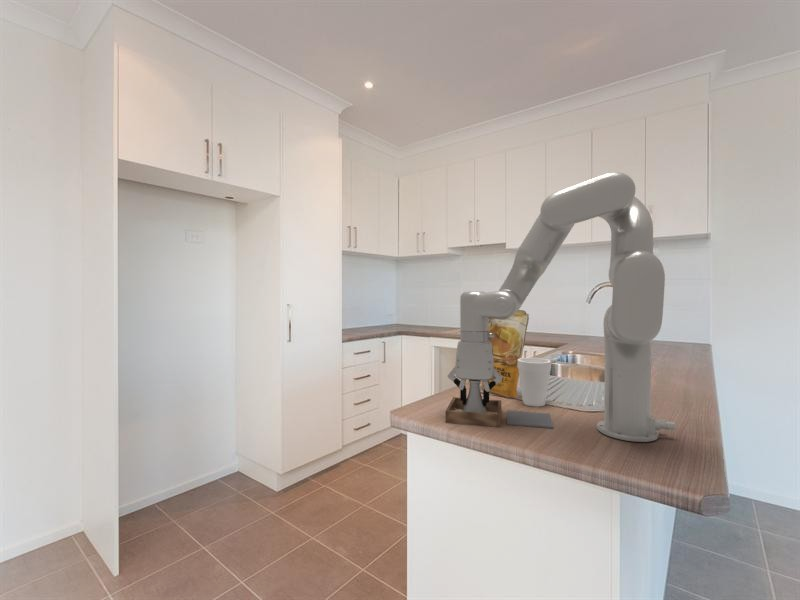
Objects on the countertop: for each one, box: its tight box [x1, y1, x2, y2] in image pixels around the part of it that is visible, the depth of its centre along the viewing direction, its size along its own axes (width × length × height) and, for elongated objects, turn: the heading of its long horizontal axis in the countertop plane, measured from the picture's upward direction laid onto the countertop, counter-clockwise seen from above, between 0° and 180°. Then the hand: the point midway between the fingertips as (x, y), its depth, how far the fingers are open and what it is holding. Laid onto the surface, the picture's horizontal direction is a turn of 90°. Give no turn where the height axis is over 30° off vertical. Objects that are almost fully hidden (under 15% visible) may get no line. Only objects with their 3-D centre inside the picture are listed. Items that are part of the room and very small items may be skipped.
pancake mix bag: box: [480, 309, 530, 399], centre depth 130 cm, size 7×19×28 cm, turn 31°
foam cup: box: [518, 357, 552, 407], centre depth 118 cm, size 10×9×13 cm
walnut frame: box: [445, 396, 502, 428], centre depth 106 cm, size 14×14×3 cm
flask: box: [462, 380, 488, 413], centre depth 106 cm, size 7×7×10 cm
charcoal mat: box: [506, 410, 554, 429], centre depth 103 cm, size 11×11×1 cm
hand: (474, 403), depth 106 cm, fingers closed on flask, 4 cm apart
